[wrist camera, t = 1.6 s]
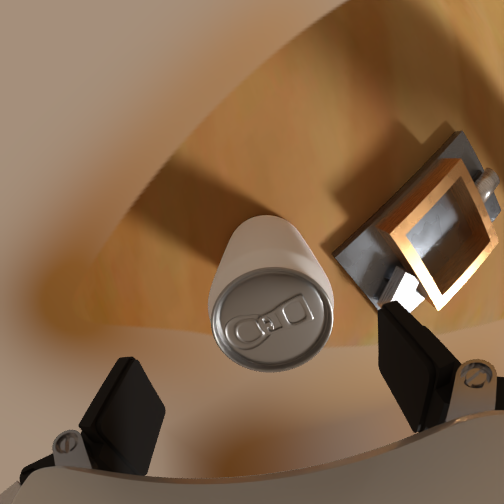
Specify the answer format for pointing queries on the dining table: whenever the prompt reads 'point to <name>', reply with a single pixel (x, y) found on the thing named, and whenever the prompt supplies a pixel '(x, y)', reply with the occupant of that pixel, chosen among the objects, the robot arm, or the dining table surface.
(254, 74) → the dining table surface
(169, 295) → the dining table surface
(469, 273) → the base
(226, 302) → the can
